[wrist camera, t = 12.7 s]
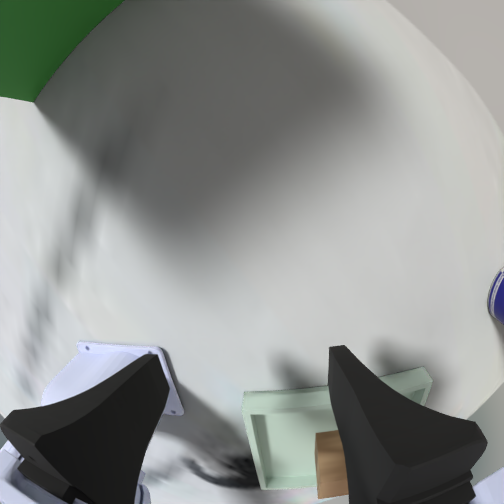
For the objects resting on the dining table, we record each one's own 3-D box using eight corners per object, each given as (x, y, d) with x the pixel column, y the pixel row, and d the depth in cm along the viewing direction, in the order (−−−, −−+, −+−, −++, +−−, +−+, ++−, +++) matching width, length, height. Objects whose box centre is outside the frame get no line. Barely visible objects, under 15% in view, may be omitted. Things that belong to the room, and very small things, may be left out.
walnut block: (314, 453, 22) (318, 499, 16) (315, 432, 21) (320, 483, 15) (351, 447, 22) (360, 491, 16) (356, 426, 21) (368, 474, 15)
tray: (262, 476, 25) (261, 489, 23) (244, 391, 21) (241, 410, 19) (390, 458, 23) (394, 471, 21) (423, 366, 19) (433, 380, 17)
